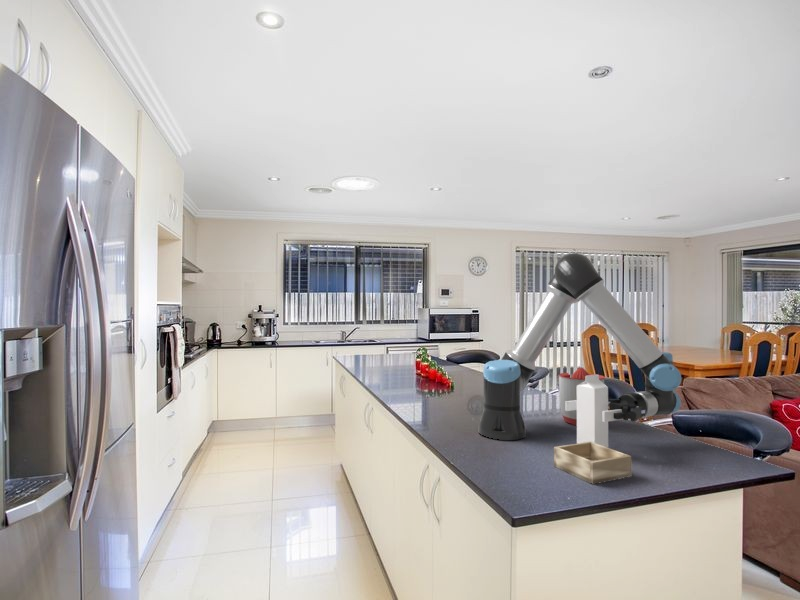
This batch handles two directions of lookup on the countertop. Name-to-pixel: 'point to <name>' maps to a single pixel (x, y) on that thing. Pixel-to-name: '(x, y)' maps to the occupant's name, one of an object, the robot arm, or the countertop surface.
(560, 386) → the citrus juicer
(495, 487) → the countertop surface
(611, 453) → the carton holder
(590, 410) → the milk
